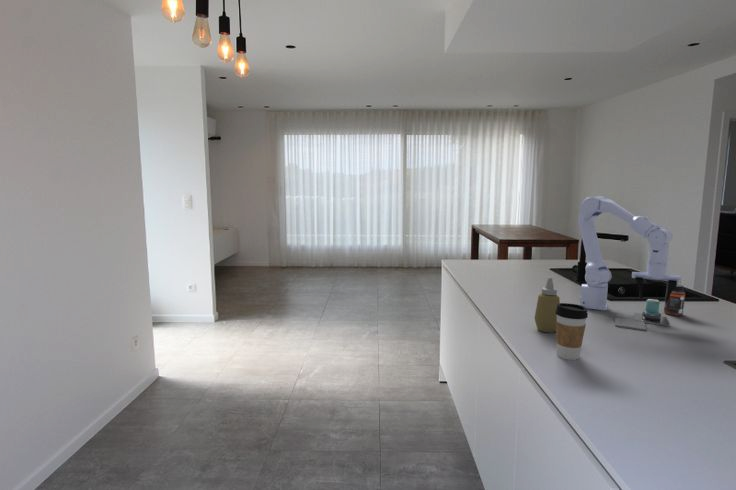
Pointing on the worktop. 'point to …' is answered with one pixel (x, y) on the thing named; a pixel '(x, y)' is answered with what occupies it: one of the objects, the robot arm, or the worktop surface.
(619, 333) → the worktop surface
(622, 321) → the pad
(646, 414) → the worktop surface
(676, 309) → the supplement bottle
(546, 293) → the squeeze bottle
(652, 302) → the cap
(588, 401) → the worktop surface
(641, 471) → the worktop surface
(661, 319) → the rotary selector switch
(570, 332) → the coffee cup
